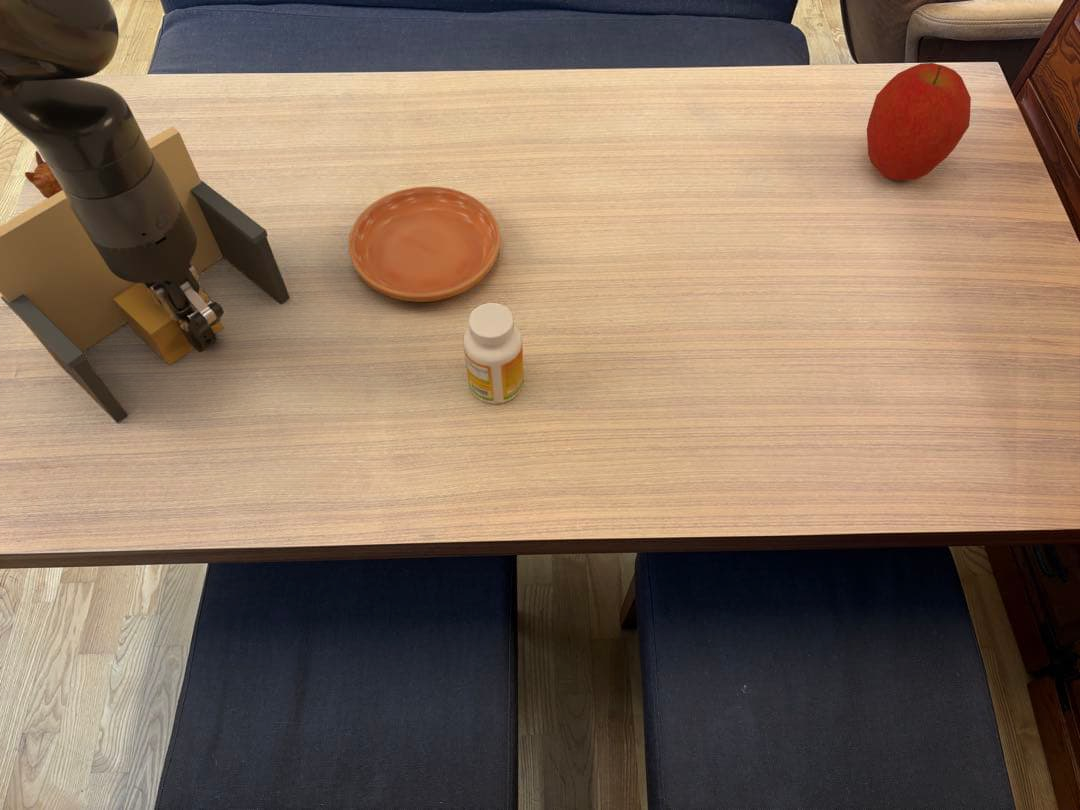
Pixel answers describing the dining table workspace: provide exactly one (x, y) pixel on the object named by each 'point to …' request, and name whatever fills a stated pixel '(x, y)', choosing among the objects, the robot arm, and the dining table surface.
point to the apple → (917, 121)
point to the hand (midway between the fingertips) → (204, 343)
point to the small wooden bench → (88, 284)
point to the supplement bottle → (493, 354)
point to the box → (155, 323)
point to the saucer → (424, 243)
